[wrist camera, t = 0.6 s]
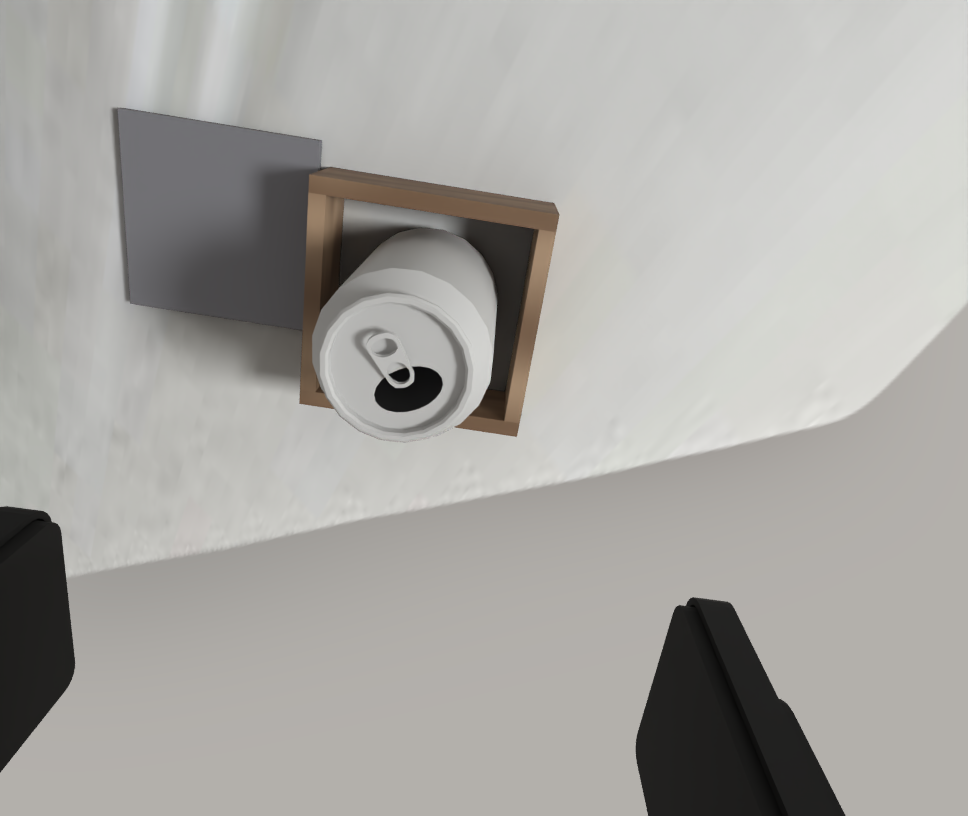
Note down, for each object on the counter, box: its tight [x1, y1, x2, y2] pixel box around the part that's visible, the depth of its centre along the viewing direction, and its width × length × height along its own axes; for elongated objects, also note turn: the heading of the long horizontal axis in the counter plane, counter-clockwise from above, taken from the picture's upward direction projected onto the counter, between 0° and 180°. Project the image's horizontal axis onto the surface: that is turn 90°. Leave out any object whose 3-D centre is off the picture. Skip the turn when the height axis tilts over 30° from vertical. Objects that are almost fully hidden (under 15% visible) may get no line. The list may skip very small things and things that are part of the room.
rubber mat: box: [118, 108, 322, 330], centre depth 36 cm, size 10×10×1 cm
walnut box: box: [300, 167, 559, 437], centre depth 35 cm, size 12×12×4 cm
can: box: [312, 228, 498, 442], centre depth 32 cm, size 8×8×12 cm
